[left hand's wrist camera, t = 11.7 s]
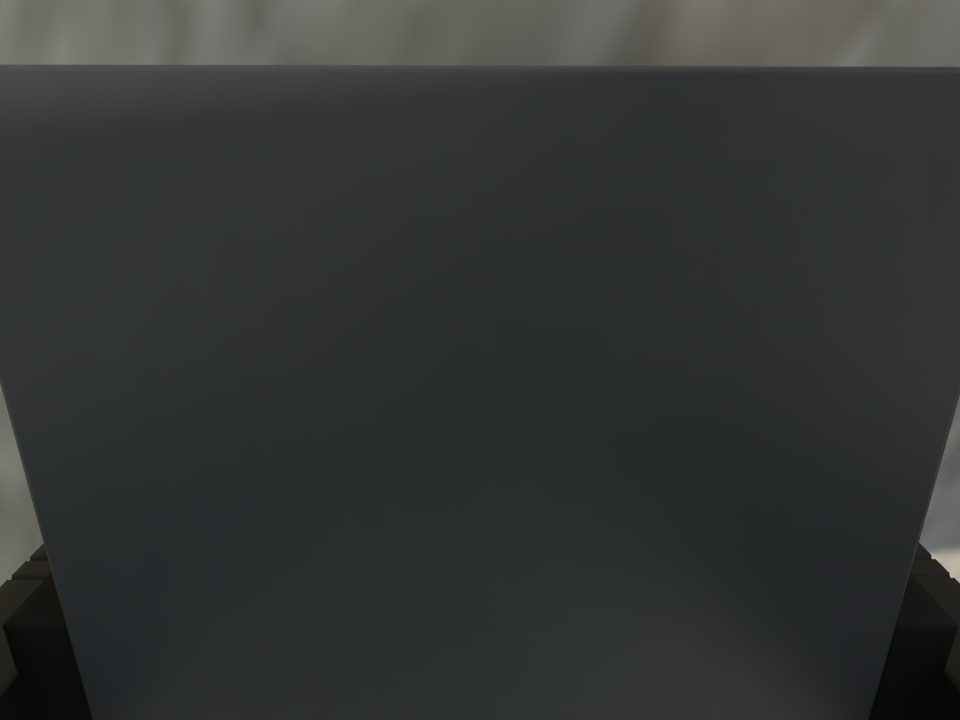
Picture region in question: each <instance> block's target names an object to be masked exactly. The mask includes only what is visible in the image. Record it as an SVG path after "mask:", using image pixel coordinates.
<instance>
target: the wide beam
mask: <svg viewBox="0 0 960 720" xmlns="http://www.w3.org/2000/svg"><path fill="white" fill-rule="evenodd" d="M0 383H1V386H2V390H3V394H4V398H5V401H6V405H7V409H8V412H9V416H10V420H11V423H12V427H13V431H14V435H15V438H16V442H17V446H18V449H19V453H20V457H21V460H22V464H23V468H24V471H25V475H26V479H27V483H28V486H29V490H30V494H31V497H32V501H33V505H34V508H35V512H36V516H37V519H38V523H39V527H40V531H41V534H42V538H43V542H44V545H45V549H46V553H47V556H48V560H49V564H50V568H51V571H52V575H53V579H54V582H55V586H56V590H57V593H58V597H59V601H60V604H61V608H62V612H63V616H64V619H65V623H66V627H67V630H68V634H69V638H70V641H71V645H72V649H73V652H74V656H75V660H76V664H77V667H78V671H79V675H80V678H81V682H82V686H83V689H84V693H85V697H86V701H87V704H88V708H89V712H90V715H91V719H92V720H869V719H870V716H871V712H872V709H873V705H874V701H875V698H876V694H877V690H878V687H879V683H880V680H881V676H882V672H883V669H884V665H885V662H886V658H887V654H888V651H889V647H890V644H891V640H892V636H893V633H894V629H895V625H896V622H897V618H898V615H899V611H900V607H901V604H902V600H903V597H904V593H905V589H906V586H907V582H908V579H909V575H910V571H911V568H912V564H913V560H914V557H915V553H916V550H917V546H918V542H919V539H920V535H921V532H922V528H923V524H924V521H925V517H926V514H927V510H928V506H929V503H930V499H931V495H932V492H933V488H934V485H935V481H936V477H937V474H938V470H939V467H940V463H941V459H942V456H943V452H944V449H945V445H946V441H947V438H948V434H949V430H950V427H951V423H952V420H953V416H954V412H955V409H956V405H957V402H958V398H959V394H960V67H729V66H288V65H0Z"/></svg>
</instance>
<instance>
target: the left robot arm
mask: <svg viewBox="0 0 960 720" xmlns="http://www.w3.org/2000/svg"><path fill="white" fill-rule="evenodd" d="M949 574H950V573H949V572H948V571H947V570H946V569H945V568H944V567H943V566H942V565H941V564H940V563H939V562H938V561H937V560H936V559H932V558H931V554H930V553H929V552H928V551H927V550H926V549H925V548H924V547H923V546H922V545H921V544H920V543H919V542H918V546H917V550H916V553H915V557H914V560H913V564H912V568H911V571H910V575H909V579H908V582H907V586H906V589H905V593H904V597H903V600H902V604H901V607H900V611H899V615H898V618H897V622H896V625H895V629H894V633H893V636H892V640H891V644H890V647H889V651H888V654H887V658H886V662H885V665H884V669H883V672H882V676H881V680H880V683H879V687H878V690H877V694H876V698H875V701H874V705H873V709H872V712H871V716H870V719H869V720H960V583H959V582H958V581H957V580H956V579H955V578H950V575H949ZM0 720H92V719H91V715H90V712H89V708H88V704H87V701H86V697H85V693H84V689H83V686H82V682H81V678H80V675H79V671H78V667H77V664H76V660H75V656H74V652H73V649H72V645H71V641H70V638H69V634H68V630H67V627H66V623H65V619H64V616H63V612H62V608H61V604H60V601H59V597H58V593H57V590H56V586H55V582H54V579H53V575H52V571H51V568H50V564H49V560H48V556H47V553H46V549H45V545H44V544H43V545H42V546H41V547H40V548H39V549H38V550H37V551H36V552H35V553H34V554H33V555H32V556H31V557H30V561H26V562H25V563H24V564H23V565H22V566H21V567H20V568H19V569H18V570H17V571H16V572H15V573H14V574H13V575H12V579H11V580H7V581H6V582H5V583H4V584H3V585H2V586H1V587H0Z"/></svg>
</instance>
